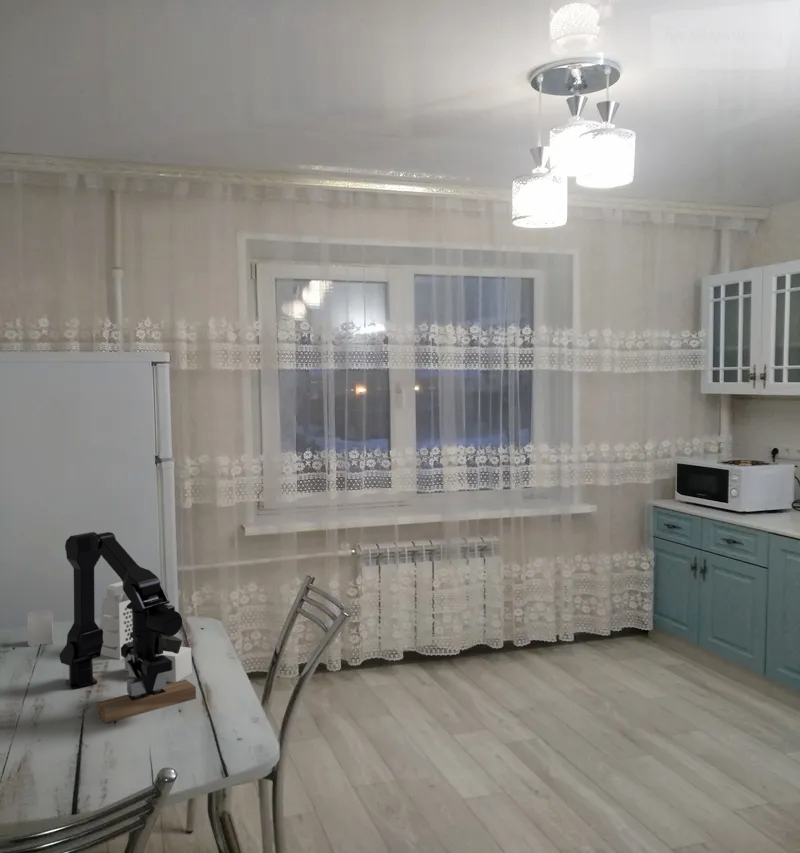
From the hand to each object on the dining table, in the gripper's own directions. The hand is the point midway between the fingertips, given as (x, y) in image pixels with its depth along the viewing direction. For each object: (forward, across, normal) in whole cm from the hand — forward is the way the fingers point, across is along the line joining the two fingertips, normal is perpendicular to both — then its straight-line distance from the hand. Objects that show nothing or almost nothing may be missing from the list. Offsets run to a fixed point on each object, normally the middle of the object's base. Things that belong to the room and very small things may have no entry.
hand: (147, 691), depth 188 cm
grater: (+4, +44, -9) cm, 45 cm away
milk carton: (0, +11, -14) cm, 18 cm away
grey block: (+2, 0, 0) cm, 3 cm away
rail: (+4, 0, 0) cm, 4 cm away
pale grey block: (+4, +67, +8) cm, 68 cm away
